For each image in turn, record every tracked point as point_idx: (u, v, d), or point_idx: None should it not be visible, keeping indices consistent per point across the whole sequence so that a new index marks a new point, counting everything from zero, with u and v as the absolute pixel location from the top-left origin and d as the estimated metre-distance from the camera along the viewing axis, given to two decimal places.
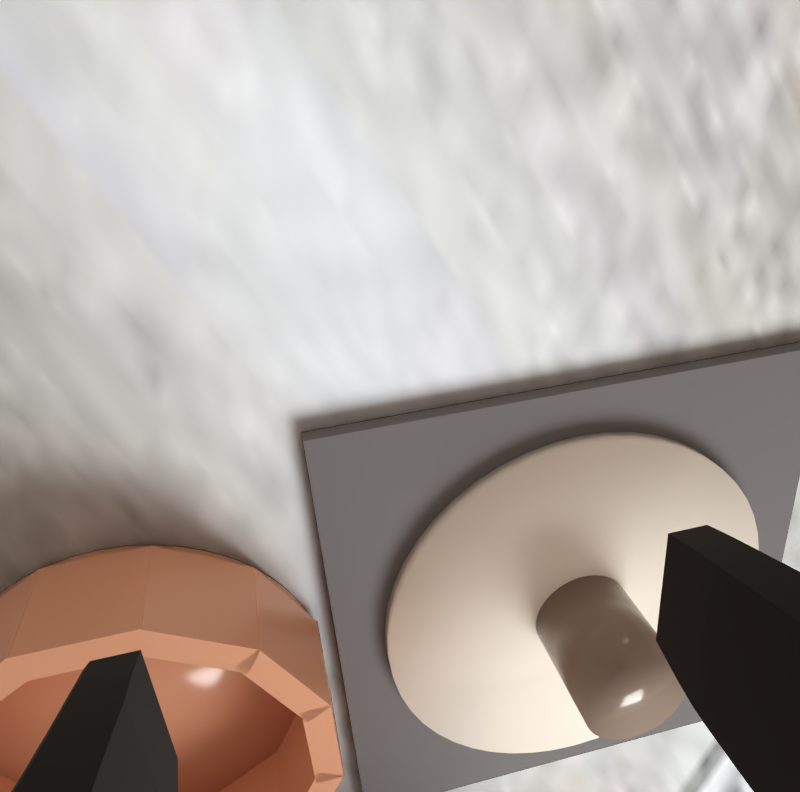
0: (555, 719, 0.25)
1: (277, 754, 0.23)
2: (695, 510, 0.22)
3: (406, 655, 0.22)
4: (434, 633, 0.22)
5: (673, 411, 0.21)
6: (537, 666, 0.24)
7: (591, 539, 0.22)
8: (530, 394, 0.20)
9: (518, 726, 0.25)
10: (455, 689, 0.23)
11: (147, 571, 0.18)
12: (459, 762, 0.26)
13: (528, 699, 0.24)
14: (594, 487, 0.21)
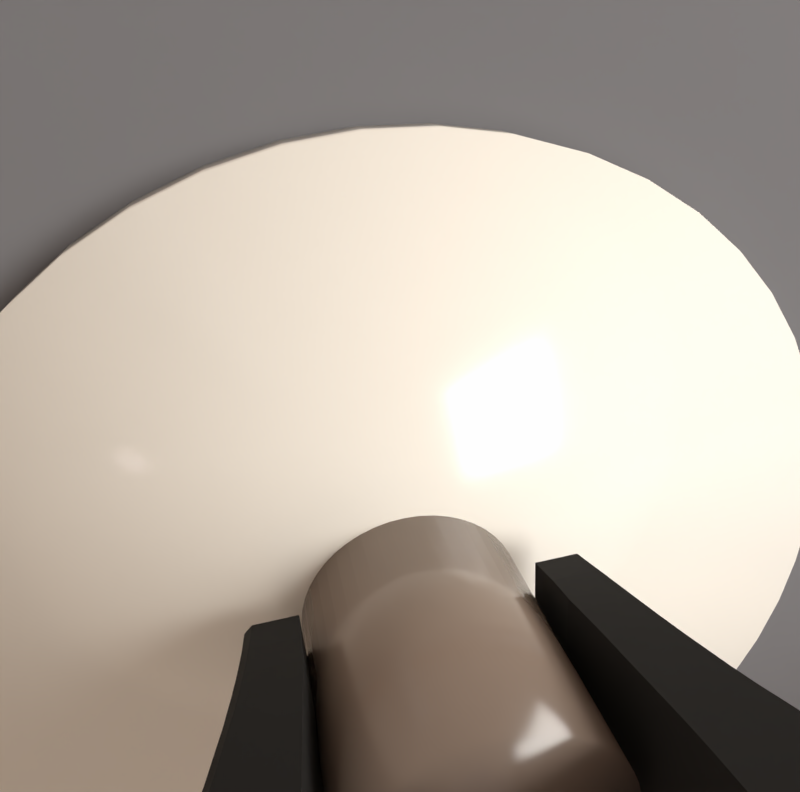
0: (705, 580, 0.11)
1: None
2: (107, 420, 0.08)
3: None
4: None
5: None
6: None
7: (195, 643, 0.09)
8: None
9: None
10: None
11: None
12: None
13: None
14: (45, 677, 0.09)
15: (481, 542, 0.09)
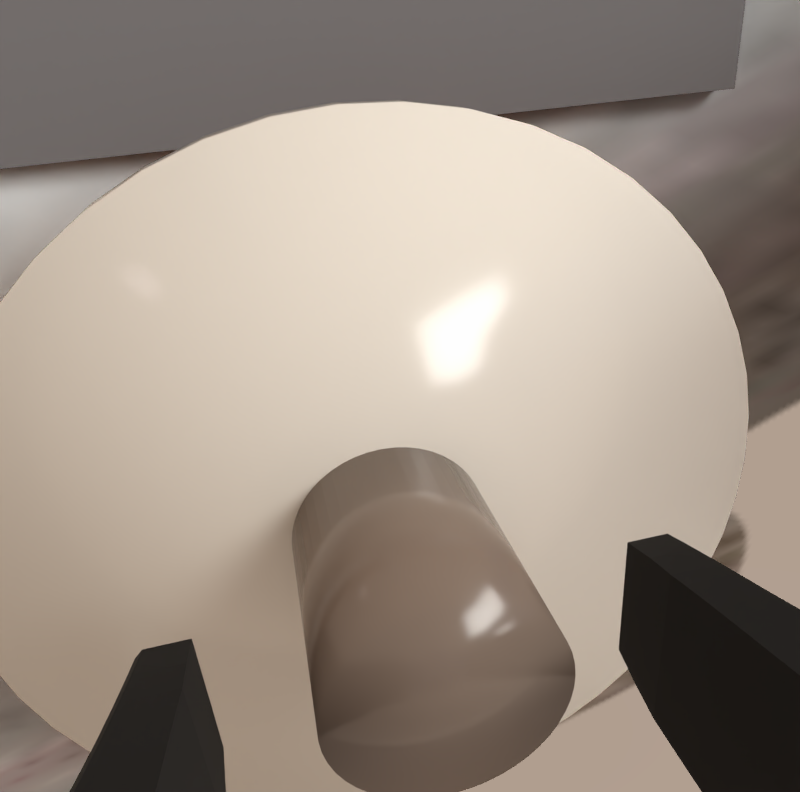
0: (654, 514, 0.13)
1: None
2: (122, 355, 0.09)
3: None
4: None
5: None
6: None
7: (198, 560, 0.11)
8: None
9: None
10: None
11: None
12: None
13: (579, 575, 0.13)
14: (67, 587, 0.11)
15: (448, 469, 0.11)
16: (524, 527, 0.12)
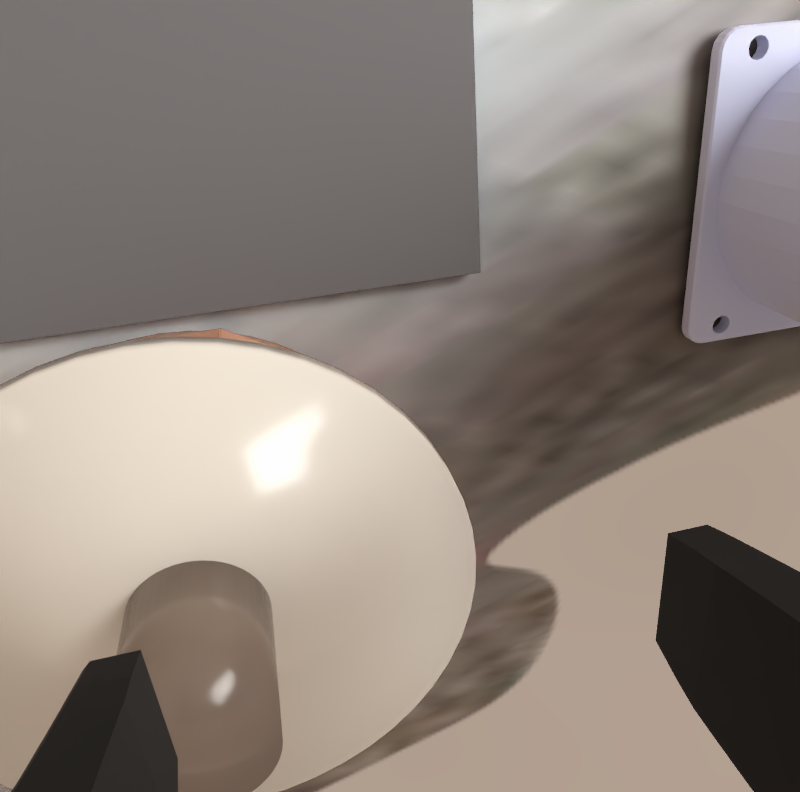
0: (410, 598, 0.17)
1: None
2: None
3: None
4: None
5: None
6: (294, 648, 0.17)
7: (54, 641, 0.15)
8: None
9: (408, 642, 0.17)
10: (317, 728, 0.18)
11: None
12: (415, 122, 0.16)
13: (356, 643, 0.17)
14: None
15: (230, 577, 0.15)
16: (306, 611, 0.16)
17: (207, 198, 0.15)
